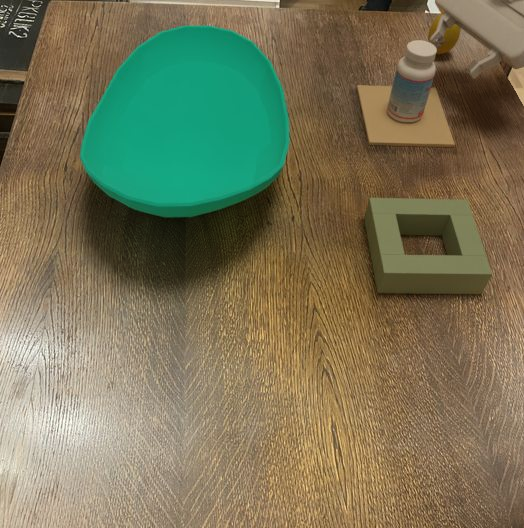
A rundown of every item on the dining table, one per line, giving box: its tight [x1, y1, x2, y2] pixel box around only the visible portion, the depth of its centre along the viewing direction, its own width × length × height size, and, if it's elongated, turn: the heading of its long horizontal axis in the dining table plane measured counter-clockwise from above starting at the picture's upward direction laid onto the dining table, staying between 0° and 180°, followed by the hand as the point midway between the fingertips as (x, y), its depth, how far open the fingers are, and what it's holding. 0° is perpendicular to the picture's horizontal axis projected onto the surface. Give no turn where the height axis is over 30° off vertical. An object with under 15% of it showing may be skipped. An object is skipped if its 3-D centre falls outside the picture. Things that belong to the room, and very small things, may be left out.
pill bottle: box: [387, 39, 437, 122], centre depth 97 cm, size 6×6×11 cm
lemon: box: [427, 12, 462, 56], centre depth 111 cm, size 6×6×8 cm
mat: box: [356, 84, 456, 148], centre depth 102 cm, size 14×16×1 cm
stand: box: [363, 197, 493, 295], centre depth 82 cm, size 14×14×4 cm
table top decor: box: [79, 24, 291, 218], centre depth 84 cm, size 40×28×13 cm
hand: (450, 59), depth 97 cm, fingers open, 8 cm apart
